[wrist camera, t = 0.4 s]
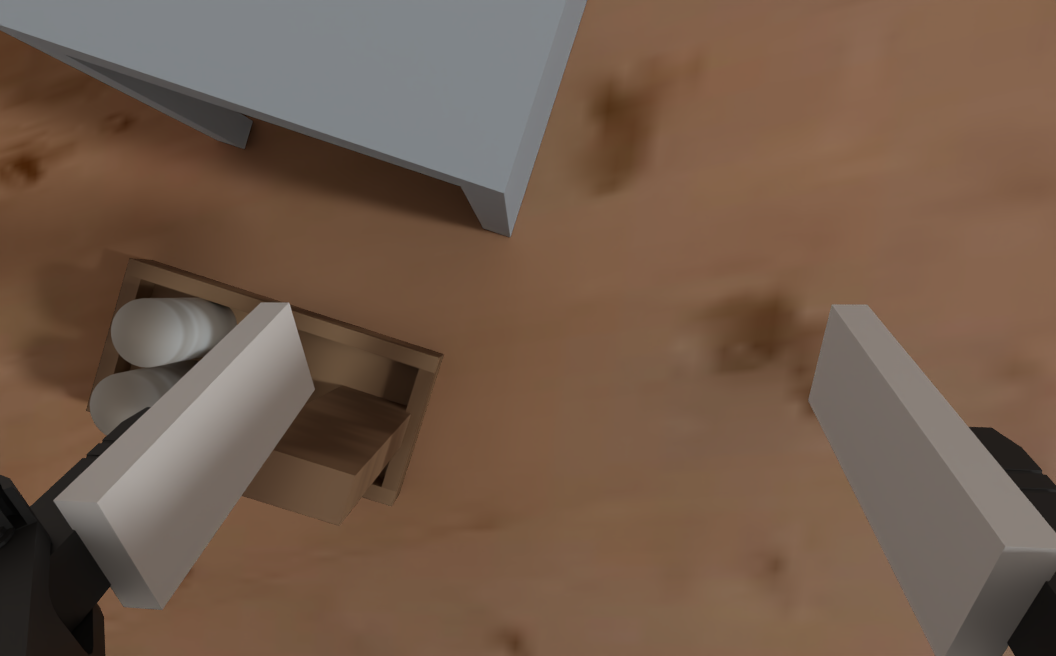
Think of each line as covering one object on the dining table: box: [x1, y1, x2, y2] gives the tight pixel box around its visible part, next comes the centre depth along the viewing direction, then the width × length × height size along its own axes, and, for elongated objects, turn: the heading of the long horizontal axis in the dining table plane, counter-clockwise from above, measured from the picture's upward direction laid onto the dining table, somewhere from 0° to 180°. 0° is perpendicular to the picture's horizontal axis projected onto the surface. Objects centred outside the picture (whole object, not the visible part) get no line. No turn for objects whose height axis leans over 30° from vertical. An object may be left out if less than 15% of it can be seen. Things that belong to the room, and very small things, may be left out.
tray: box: [86, 258, 444, 526], centre depth 25 cm, size 16×8×12 cm, turn 72°
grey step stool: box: [0, 0, 587, 237], centre depth 23 cm, size 13×16×14 cm
